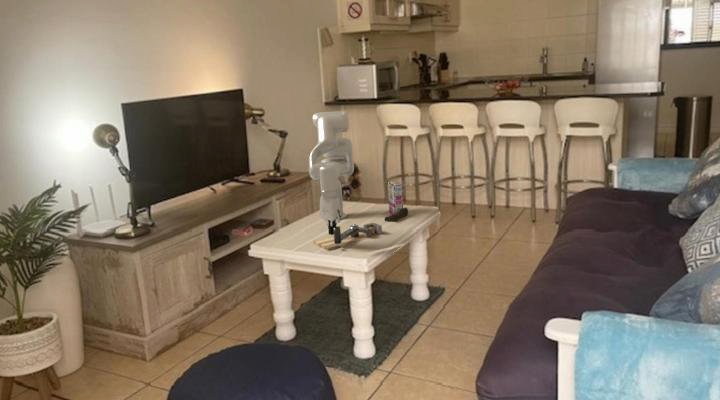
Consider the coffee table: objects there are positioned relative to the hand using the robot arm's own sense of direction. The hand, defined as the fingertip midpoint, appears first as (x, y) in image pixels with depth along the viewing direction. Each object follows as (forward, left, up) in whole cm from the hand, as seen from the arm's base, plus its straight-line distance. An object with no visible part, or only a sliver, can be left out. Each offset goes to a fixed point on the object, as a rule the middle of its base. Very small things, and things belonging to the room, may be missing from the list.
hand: (332, 233), depth 260 cm
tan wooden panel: (-4, +11, -6) cm, 13 cm away
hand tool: (-18, +48, -7) cm, 51 cm away
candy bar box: (-27, +54, -6) cm, 61 cm away
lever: (+2, +9, -5) cm, 10 cm away
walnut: (-1, +21, -5) cm, 22 cm away
